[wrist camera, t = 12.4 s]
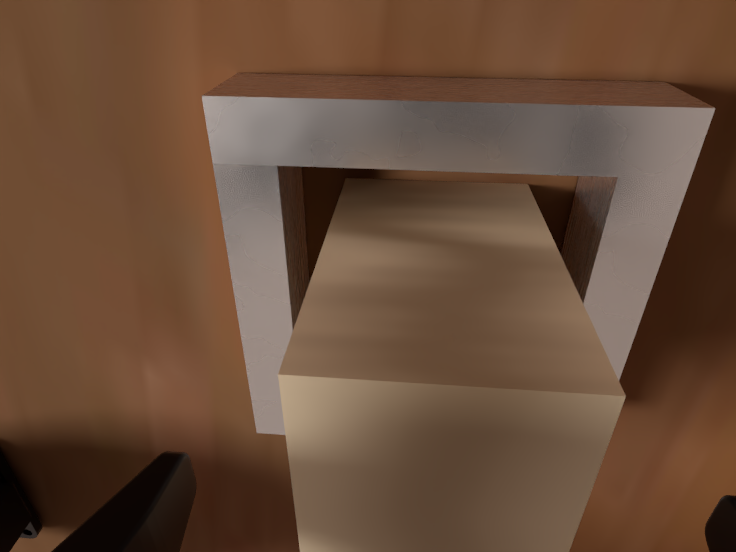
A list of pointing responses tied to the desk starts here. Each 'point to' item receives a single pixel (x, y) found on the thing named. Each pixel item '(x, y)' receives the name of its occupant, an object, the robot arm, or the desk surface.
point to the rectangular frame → (454, 154)
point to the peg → (443, 377)
